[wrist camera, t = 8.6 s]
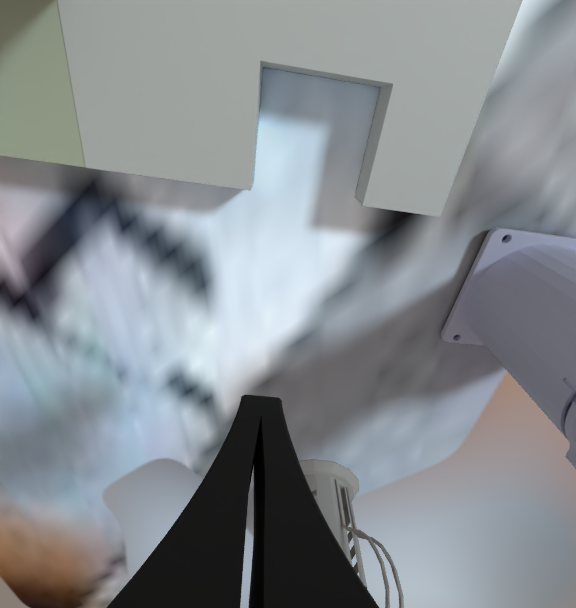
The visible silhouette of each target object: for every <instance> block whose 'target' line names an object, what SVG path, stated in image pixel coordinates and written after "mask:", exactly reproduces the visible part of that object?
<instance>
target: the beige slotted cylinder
mask: <svg viewBox="0 0 576 608" xmlns="http://www.w3.org/2000/svg"><path fill="white" fill-rule="evenodd" d="M299 463H300V466H301V469H302V471H303V473H304V476H305V478H306V481H307V483H308V485H309V487H310V490H311V492H312V494H313V496H314V498H315V500H316V502H317V504H318V506H319V508H320V510H321V512H322V514H323V516H324V518H325V520H326V522H327V524H328V526H329V528H330V529H331V531H332V533H333V535H334V536H335V538H336V540H337V542H338V543H339V545H340V547H341V548H342V550H343V552H344V554H345V555H346V557H347V559H348V560H349V562H350V564H351V565H352V561H351V560H352V559H353V557H354V555H355V554H356V558H357V563H356V565H355V566H354V567H353V569H354V570H355V572H356V573H358V572H359V576H360V580H361V581H362V583H363V584H364V586H365V587H366V589H367V585H366V580H365V575H364V569H363V563H362V557H361V552H360V546H359V541H358V537H359V538H363V539H367V540H368V541H369V543H370V545H371V546H372V548H373V550H374V551H375V553H376V556H377V558H378V560H379V562H380V565H381V570H382V575H383V579H384V584H385V589H386V607H385V608H390V605H389V604H390V603H389V585H388V580H387V576H386V571H385V567H384V562H383V560H382V558H381V556H380V554H379V552H378V550H377V548H376V546H375V545H374V543H375V544H377V545H378V546H379V547H380V548H381V549H382V551H383V552H384V554H385V556H386V558H387V559H388V561H389V563H390V565H391V568H392V572H393V575H394V578H395V582H396V585H397V588H398V592H399V608H404V606H403V605H404V604H403V593H402V589H401V585H400V581H399V577H398V574H397V570H396V568H395V566H394V564H393V561H392V559H391V557H390V555H389V554H388V552H387V551H386V549H385V548H384V547H383V545H382V544H380V543H379V542H378V541H376V540H375V539H374V538H372V537H369V536H368V535H366V534H365V533H364V532H362V531H361V530H358V529H357V528H356V523H355V518H354V513H353V508H352V500H353V499H354V497H355V495H356V494H357V492H358V491H359V484H358V478H357V477H356V476H355V475H354V474H353V473H352V471H351V470H350V469H348V468H346V467H344V466H342V465H339V464H337V463H335V462H330V461H322V460H315V459H313V460H304V461H299ZM350 523H351V528H350V527H348V525H349V524H350ZM347 531H350V532H349V533H348V535H347ZM352 538H353V541H354V545H353V547H352V549H351V550H350V549H349V542H350V541H351V539H352ZM373 542H374V543H373Z"/></svg>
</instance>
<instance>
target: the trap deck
mask: <svg viewBox="0 0 576 608" xmlns="http://www.w3.org/2000/svg"><path fill="white" fill-rule="evenodd" d="M521 3H522V0H0V156H7V157H14V158H21V159H28V160H36V161H43V162H50V163H57V164H64V165H72V166H79V167H86V168H92V169H99V170H106V171H113V172H120V173H128V174H135V175H142V176H149V177H157V178H164V179H171V180H178V181H185V182H193V183H200V184H207V185H214V186H222V187H229V188H236V189H243V190H251V188H252V185H253V183H254V171H255V159H256V146H257V133H258V121H259V108H260V96H261V83H262V70H263V67H266V68H272V69H278V70H284V71H290V72H295V73H301V74H307V75H313V76H319V77H324V78H330V79H336V80H342V81H348V82H354V83H359V84H365V85H371V86H377V87H381V88H380V92H379V96H378V101H377V105H376V109H375V113H374V117H373V122H372V126H371V130H370V134H369V139H368V143H367V147H366V151H365V155H364V160H363V164H362V168H361V172H360V177H359V181H358V185H357V189H356V194H355V198H356V199H357V200H358V201H359V202H360V204H361V205H362V206H366V207H373V208H380V209H388V210H395V211H402V212H409V213H416V214H424V215H431V216H438V217H440V216H441V213H442V211H443V208H444V206H445V203H446V200H447V198H448V195H449V192H450V190H451V187H452V185H453V182H454V179H455V177H456V174H457V171H458V169H459V166H460V163H461V161H462V158H463V156H464V153H465V150H466V148H467V145H468V142H469V140H470V137H471V135H472V132H473V129H474V127H475V124H476V121H477V119H478V116H479V113H480V111H481V108H482V106H483V103H484V100H485V98H486V95H487V92H488V90H489V87H490V85H491V82H492V79H493V77H494V74H495V71H496V69H497V66H498V63H499V61H500V58H501V56H502V53H503V50H504V48H505V45H506V42H507V40H508V37H509V35H510V32H511V29H512V27H513V24H514V21H515V19H516V16H517V13H518V11H519V8H520V6H521Z"/></svg>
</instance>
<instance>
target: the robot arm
mask: <svg viewBox="0 0 576 608" xmlns="http://www.w3.org/2000/svg"><path fill="white" fill-rule="evenodd" d="M505 235H507V238H506V239H505V240H503V241H502V238H503V237H504V236H505ZM455 335H457V336H456V337H454V336H455ZM440 336H441V338H442V340H443V341H444V342H449V343H458V344H468V345H477V346H486V347H487V348H488V349H489V351H490V352H491V353H492V354H493V355H494V356H495V357H496V359H497V360H498V361H499V362H500V363H501V364H502V365H503V367H504V368H505V369H506V370H507V371H508V372H509V373H510V374H511V376H512V377H513V378H514V379H515V380H516V381H517V382H518V384H519V385H520V386H521V387H522V388H523V389H524V390H525V392H526V393H527V394H528V395H529V396H530V397H531V398H532V400H533V401H534V402H535V403H536V404H537V405H538V406H539V407H540V408H541V410H542V411H543V412H544V413H545V414H546V415H547V416H548V418H549V419H550V420H551V421H552V422H553V423H554V424H555V426H556V427H557V428H558V429H559V430H560V431H561V432H562V434H563V435H564V436H565V437H566V438H567V439H568V440H569V443H570V448H569V450H568V452H567V454H566V458H567V459H568V460H569V461H570V463H571V464H572V465H573V466H574V467H575V469H576V238H572V237H565V236H558V235H551V234H543V233H536V232H529V231H522V230H514V229H507V228H500V227H497V228H494V229H492V230H490V231H489V232H488V234H487V236H486V238H485V240H484V242H483V244H482V246H481V248H480V251H479V253H478V255H477V257H476V259H475V261H474V263H473V266H472V268H471V270H470V272H469V274H468V276H467V278H466V281H465V283H464V285H463V287H462V289H461V291H460V293H459V296H458V298H457V300H456V302H455V304H454V306H453V308H452V310H451V313H450V315H449V317H448V319H447V321H446V323H445V325H444V328H443V330H442V332H441V335H440ZM253 464H254V542H253V543H254V544H253V558H252V572H251V585H250V598H249V608H379V607H378V605H377V604H376V602H375V601H374V599H373V598H372V596H371V595H370V593H369V592H368V590H367V589H366V587H365V586H364V584H363V583H362V581H361V580H360V578H359V576H358V575H357V573H356V572H355V570H354V569H353V567H352V565H351V564H350V562H349V560H348V559H347V557H346V555H345V554H344V552H343V550H342V548H341V547H340V545H339V543H338V542H337V540H336V538H335V536H334V535H333V533H332V531H331V529H330V528H329V526H328V524H327V522H326V520H325V518H324V516H323V514H322V512H321V510H320V508H319V506H318V504H317V502H316V500H315V498H314V496H313V494H312V492H311V490H310V487H309V485H308V483H307V481H306V478H305V476H304V473H303V471H302V469H301V466H300V463H299V461H298V458H297V456H296V453H295V450H294V447H293V444H292V441H291V438H290V435H289V432H288V428H287V425H286V421H285V417H284V413H283V408H282V401H281V400H280V398H276V397H265V396H254V395H244V396H242V397H241V402H240V405H239V409H238V412H237V414H236V417H235V419H234V422H233V424H232V427H231V429H230V431H229V433H228V435H227V437H226V439H225V441H224V443H223V446H222V448H221V449H220V451H219V453H218V455H217V457H216V459H215V460H214V462H213V464H212V466H211V468H210V469H209V471H208V473H207V474H206V476H205V478H204V479H203V481H202V483H201V484H200V486H199V488H198V489H197V491H196V492H195V494H194V495H193V497H192V498H191V500H190V502H189V503H188V504H187V506H186V507H185V509H184V510H183V512H182V513H181V515H180V516H179V517H178V519H177V520H176V522H175V523H174V524H173V526H172V527H171V529H170V530H169V531H168V533H167V534H166V535H165V537H164V538H163V539H162V541H161V542H160V543H159V544H158V546H157V547H156V548H155V550H154V551H153V552H152V554H151V555H150V556H149V557H148V559H147V560H146V561H145V563H144V564H143V565H142V566H141V568H140V569H139V570H138V571H137V572H136V574H135V575H134V576H133V577H132V579H131V580H130V581H129V582H128V583H127V584H126V586H125V587H124V588H123V589H122V590H121V591H120V593H119V594H118V595H117V596H116V597H115V598H114V600H113V601H112V602H111V603H110V604H109V605H108V607H107V608H240V599H241V586H242V585H241V584H242V571H243V557H244V544H245V530H246V518H247V505H248V493H249V488H250V482H251V476H252V470H253Z"/></svg>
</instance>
